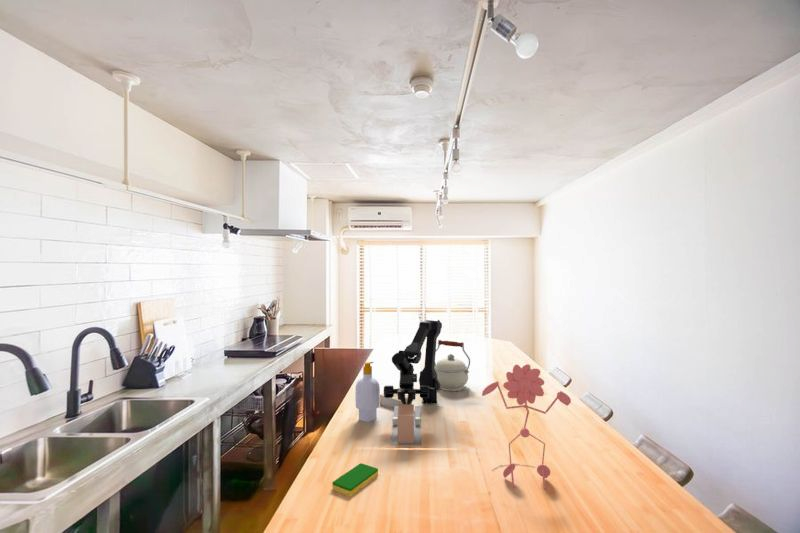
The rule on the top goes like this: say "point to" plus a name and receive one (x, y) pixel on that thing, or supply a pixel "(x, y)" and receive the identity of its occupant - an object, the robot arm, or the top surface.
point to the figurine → (525, 388)
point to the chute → (416, 428)
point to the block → (405, 423)
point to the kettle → (452, 369)
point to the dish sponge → (355, 479)
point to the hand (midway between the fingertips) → (406, 411)
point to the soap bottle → (367, 395)
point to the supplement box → (391, 400)
